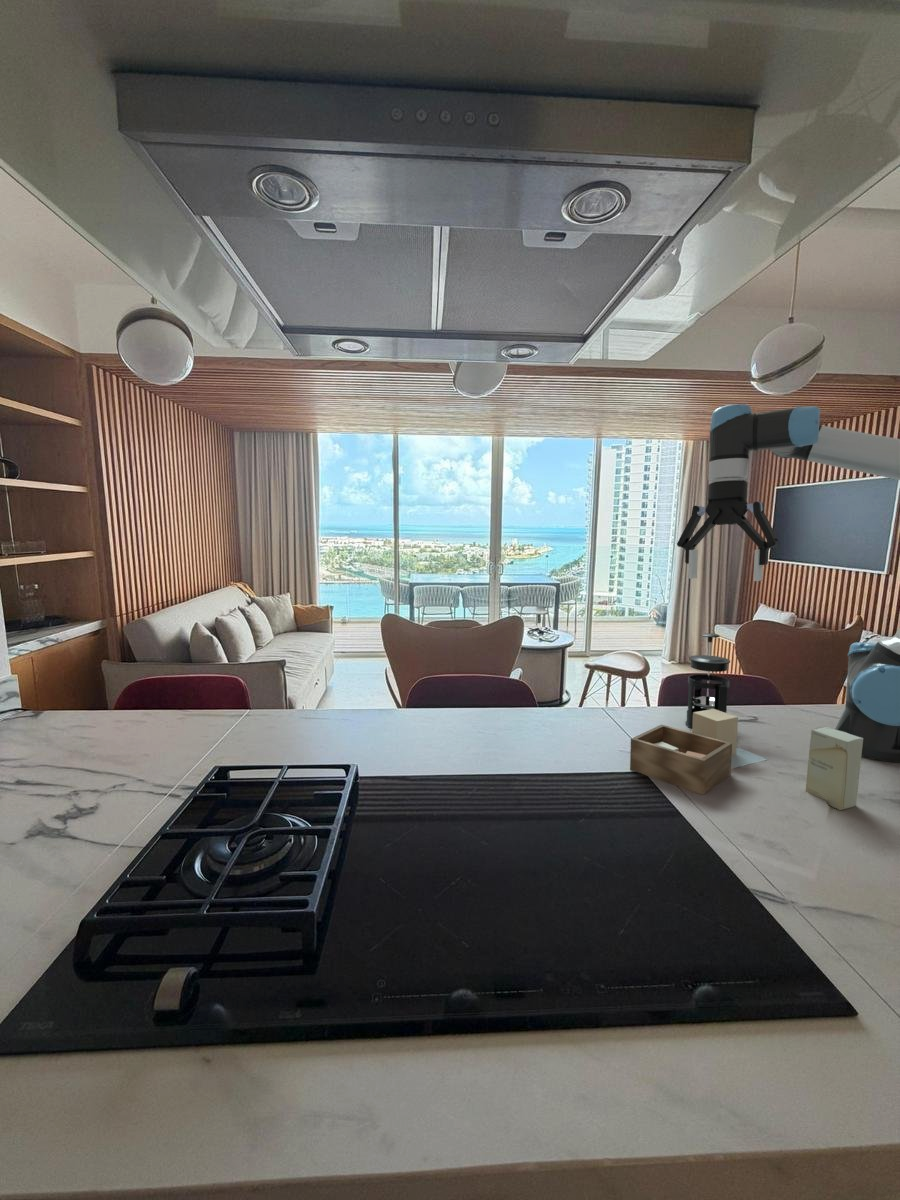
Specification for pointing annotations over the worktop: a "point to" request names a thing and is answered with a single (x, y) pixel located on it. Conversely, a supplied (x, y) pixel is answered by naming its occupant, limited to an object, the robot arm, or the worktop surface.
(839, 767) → the skincare box
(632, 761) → the box
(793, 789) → the worktop surface
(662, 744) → the cube cream
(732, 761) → the lid
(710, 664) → the french press
